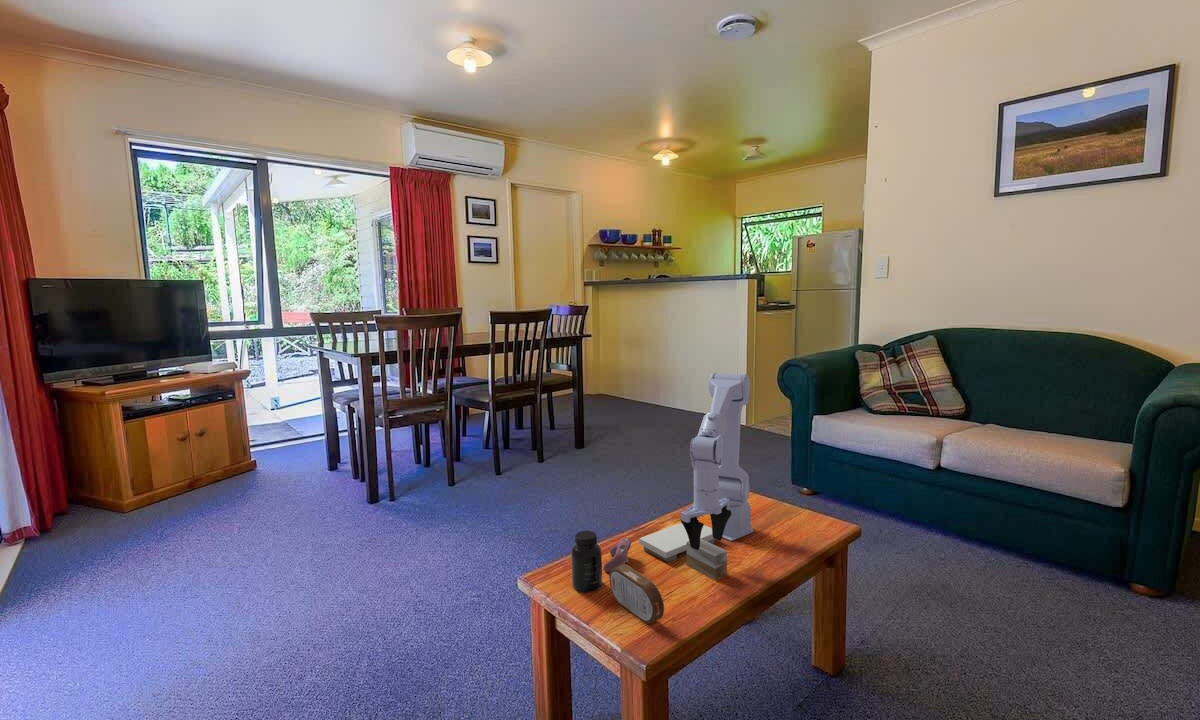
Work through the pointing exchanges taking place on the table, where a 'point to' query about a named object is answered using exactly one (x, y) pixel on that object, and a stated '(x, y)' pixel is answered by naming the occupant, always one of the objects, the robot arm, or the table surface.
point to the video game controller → (618, 555)
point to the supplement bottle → (586, 562)
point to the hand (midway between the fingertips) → (706, 543)
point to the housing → (708, 560)
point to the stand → (671, 541)
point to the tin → (636, 593)
